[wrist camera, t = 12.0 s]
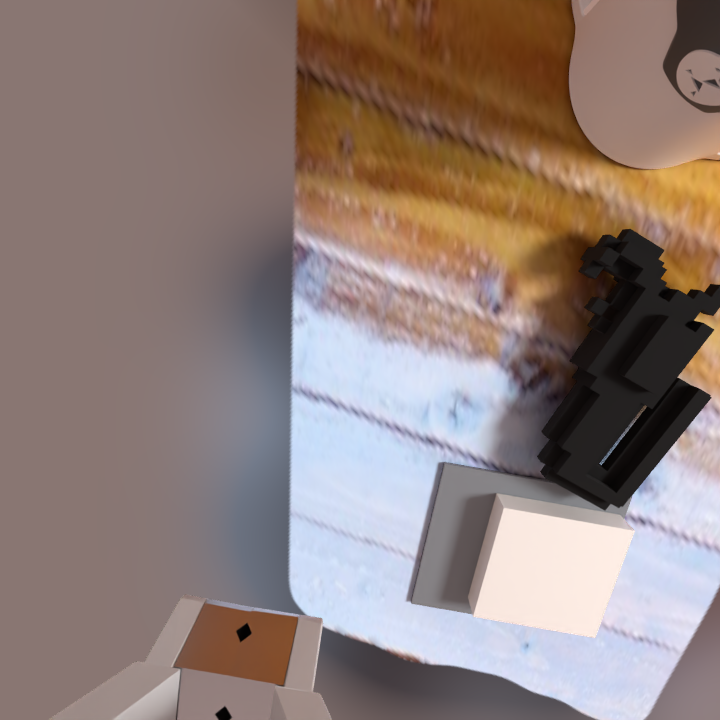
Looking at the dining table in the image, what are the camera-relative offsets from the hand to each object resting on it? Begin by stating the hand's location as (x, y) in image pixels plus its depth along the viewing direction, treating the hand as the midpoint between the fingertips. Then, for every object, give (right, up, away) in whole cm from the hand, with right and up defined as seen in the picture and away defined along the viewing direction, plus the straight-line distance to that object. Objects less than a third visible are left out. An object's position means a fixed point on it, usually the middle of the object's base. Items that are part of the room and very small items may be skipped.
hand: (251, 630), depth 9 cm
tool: (+24, +5, +30) cm, 39 cm away
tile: (+14, -13, +33) cm, 38 cm away
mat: (+18, -13, +35) cm, 41 cm away
